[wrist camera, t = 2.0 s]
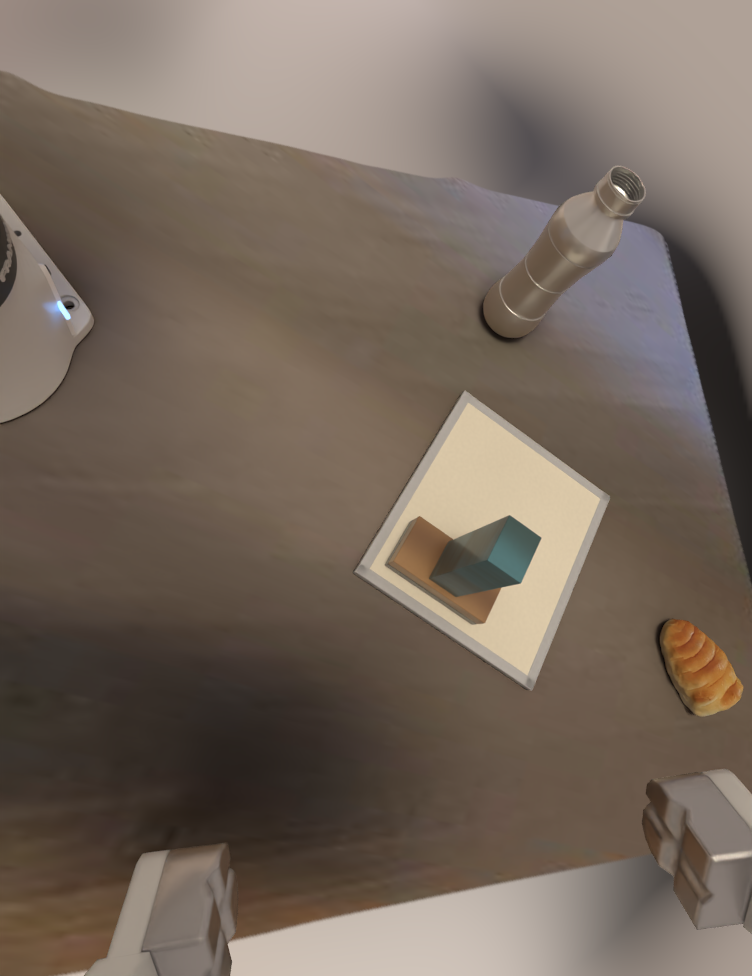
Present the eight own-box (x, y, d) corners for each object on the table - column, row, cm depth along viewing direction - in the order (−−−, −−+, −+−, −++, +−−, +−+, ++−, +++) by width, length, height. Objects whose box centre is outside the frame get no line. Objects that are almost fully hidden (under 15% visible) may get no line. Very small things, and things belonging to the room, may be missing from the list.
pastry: (640, 640, 56) (670, 639, 52) (677, 606, 59) (708, 603, 55) (691, 721, 55) (725, 725, 51) (726, 682, 58) (760, 684, 54)
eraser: (472, 625, 50) (557, 617, 38) (384, 565, 49) (443, 537, 37) (493, 579, 52) (581, 558, 40) (409, 521, 51) (474, 481, 39)
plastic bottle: (496, 285, 63) (616, 138, 45) (536, 326, 64) (672, 196, 45) (465, 314, 61) (579, 170, 43) (507, 356, 61) (639, 230, 43)
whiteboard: (527, 690, 50) (532, 690, 50) (352, 572, 48) (354, 571, 48) (605, 498, 60) (610, 496, 59) (461, 393, 58) (464, 390, 57)
